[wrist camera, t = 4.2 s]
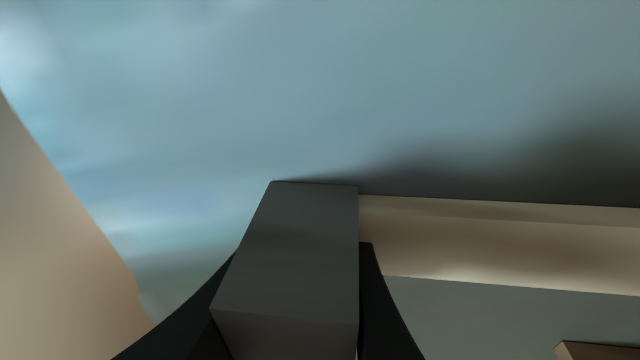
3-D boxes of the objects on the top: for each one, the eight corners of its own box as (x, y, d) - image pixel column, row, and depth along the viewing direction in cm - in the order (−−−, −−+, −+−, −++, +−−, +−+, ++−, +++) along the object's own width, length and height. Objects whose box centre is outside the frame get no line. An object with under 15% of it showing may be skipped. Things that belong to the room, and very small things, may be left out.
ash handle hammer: (618, 279, 13) (783, 454, 8) (282, 253, 15) (244, 380, 10) (700, 200, 10) (1037, 396, 5) (270, 181, 12) (208, 308, 7)
